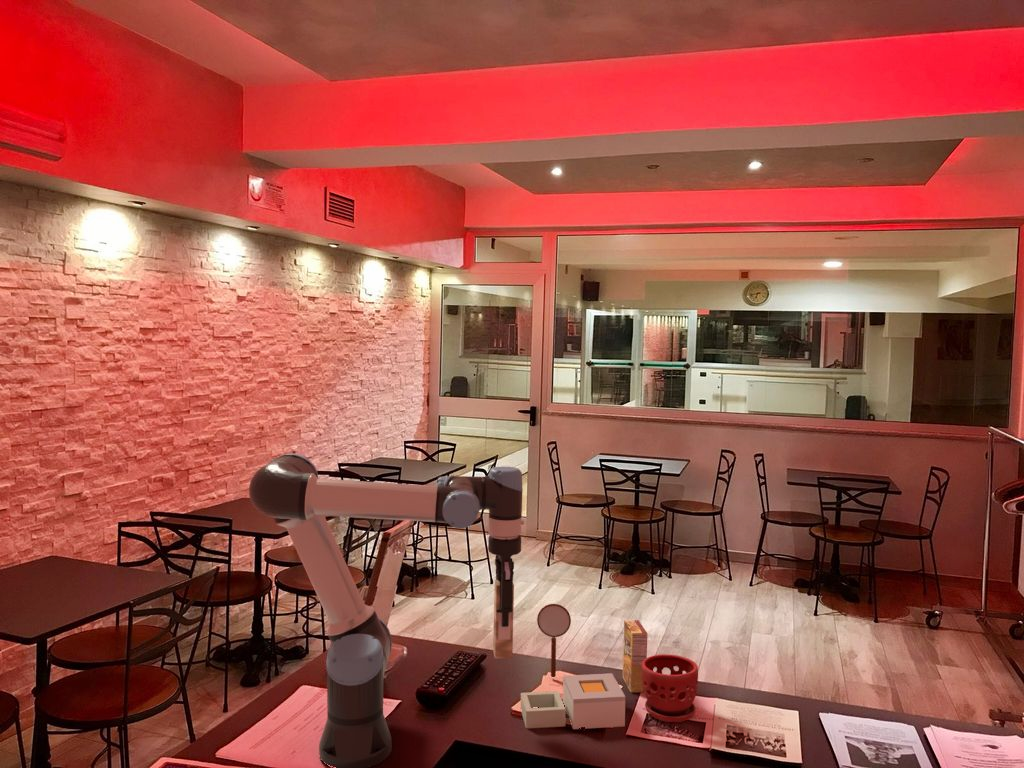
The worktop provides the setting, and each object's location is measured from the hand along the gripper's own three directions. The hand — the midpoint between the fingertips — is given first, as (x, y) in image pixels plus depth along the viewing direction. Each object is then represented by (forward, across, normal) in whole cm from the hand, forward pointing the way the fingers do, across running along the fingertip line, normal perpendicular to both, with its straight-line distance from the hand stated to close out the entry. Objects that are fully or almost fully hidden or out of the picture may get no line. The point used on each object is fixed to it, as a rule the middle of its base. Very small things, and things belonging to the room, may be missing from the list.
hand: (503, 634), depth 180 cm
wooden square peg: (+5, 0, 0) cm, 5 cm away
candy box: (+20, +13, -36) cm, 43 cm away
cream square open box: (+20, -1, -10) cm, 22 cm away
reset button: (+16, -1, -21) cm, 27 cm away
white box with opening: (+20, -1, -22) cm, 29 cm away
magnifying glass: (+20, +18, -16) cm, 31 cm away
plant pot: (+20, -2, -40) cm, 44 cm away
